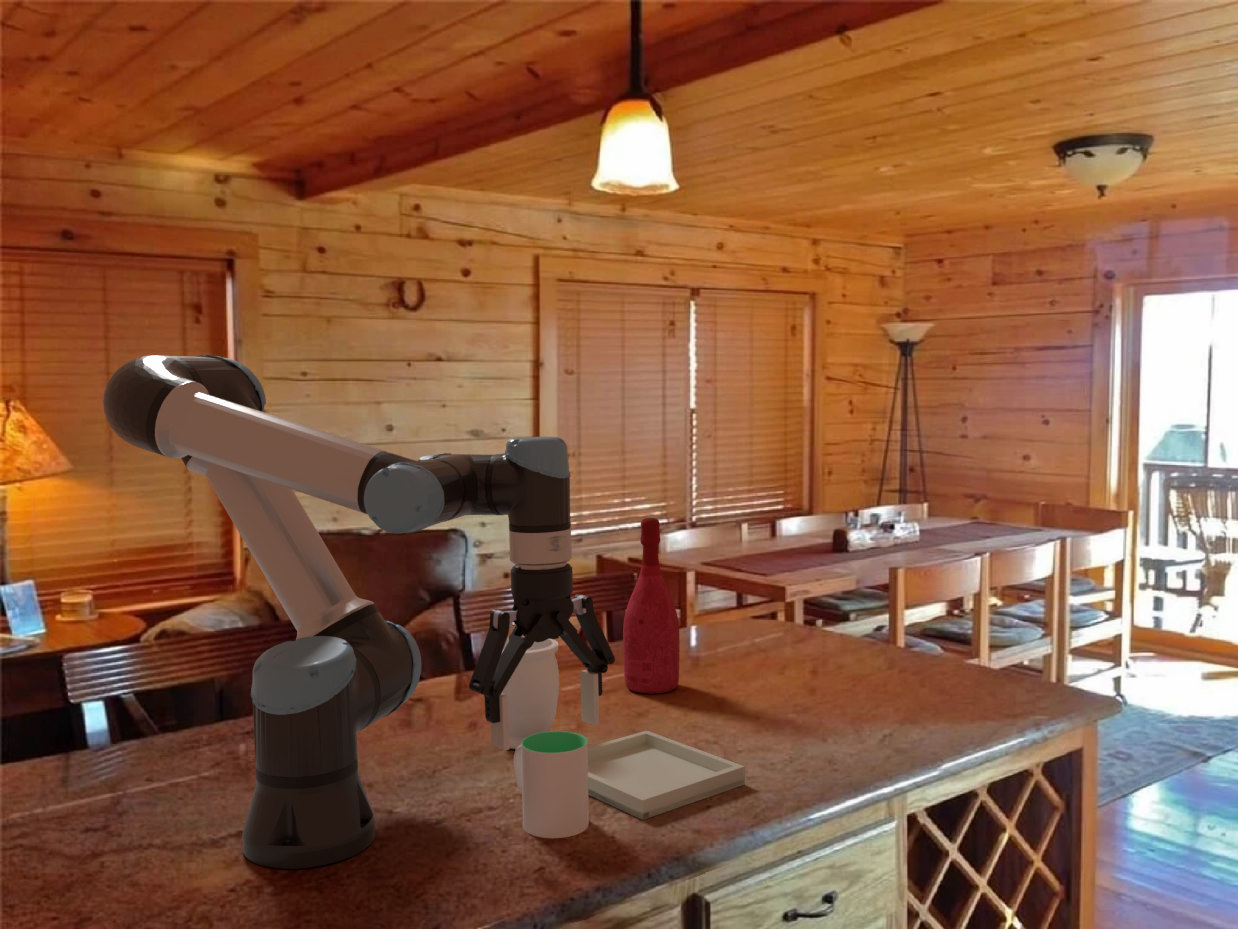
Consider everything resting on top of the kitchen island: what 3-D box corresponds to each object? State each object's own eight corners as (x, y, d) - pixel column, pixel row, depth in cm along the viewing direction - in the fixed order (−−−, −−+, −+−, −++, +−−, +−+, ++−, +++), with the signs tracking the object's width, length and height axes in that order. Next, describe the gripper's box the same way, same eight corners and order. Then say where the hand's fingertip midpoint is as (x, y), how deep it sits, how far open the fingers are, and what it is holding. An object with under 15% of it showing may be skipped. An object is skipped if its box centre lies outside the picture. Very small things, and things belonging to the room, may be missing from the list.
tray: (642, 820, 138) (642, 800, 137) (547, 776, 153) (547, 758, 153) (744, 784, 149) (744, 766, 149) (647, 747, 164) (646, 730, 164)
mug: (490, 815, 140) (488, 734, 139) (539, 798, 145) (538, 720, 144) (552, 844, 131) (550, 758, 130) (602, 824, 136) (601, 741, 136)
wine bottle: (689, 684, 197) (688, 516, 194) (661, 699, 189) (660, 523, 186) (642, 677, 202) (640, 513, 200) (613, 690, 194) (610, 519, 191)
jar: (549, 755, 161) (548, 653, 160) (481, 751, 163) (479, 651, 162) (567, 732, 172) (566, 636, 170) (503, 728, 174) (501, 634, 172)
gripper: (469, 581, 125) (476, 766, 126) (639, 554, 140) (643, 719, 142) (435, 573, 130) (442, 751, 132) (602, 548, 146) (606, 707, 148)
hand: (546, 735), depth 137 cm, fingers open, 13 cm apart
